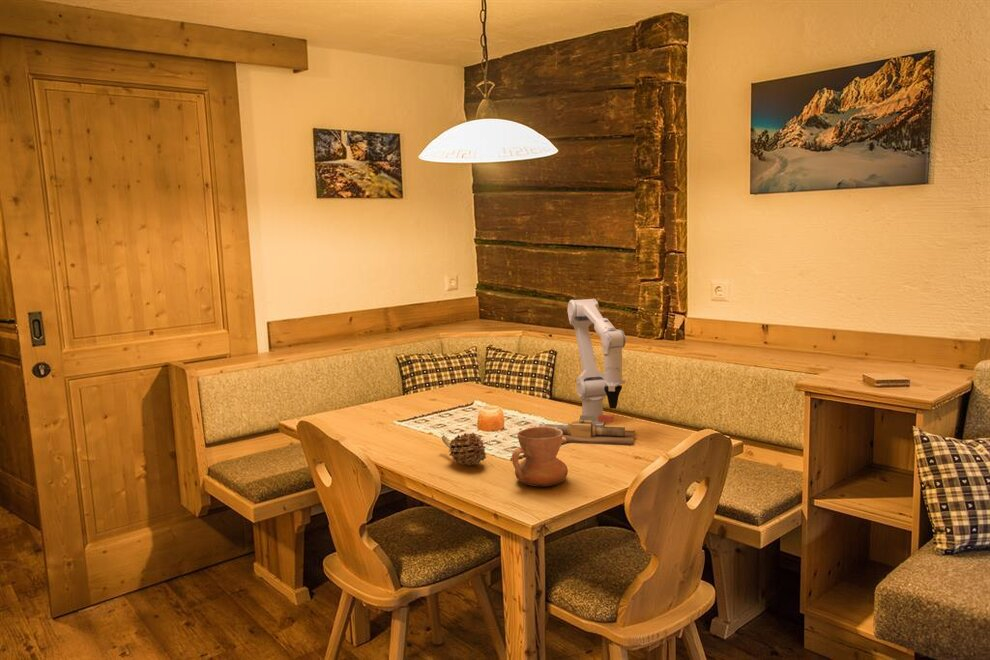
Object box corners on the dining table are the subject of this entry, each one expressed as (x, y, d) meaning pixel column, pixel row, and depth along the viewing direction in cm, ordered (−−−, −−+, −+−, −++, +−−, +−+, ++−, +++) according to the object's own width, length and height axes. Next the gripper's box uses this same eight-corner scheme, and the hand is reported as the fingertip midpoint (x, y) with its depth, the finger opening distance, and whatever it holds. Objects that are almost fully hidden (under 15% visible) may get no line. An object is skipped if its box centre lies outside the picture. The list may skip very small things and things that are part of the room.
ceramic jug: (550, 468, 214) (548, 420, 212) (582, 482, 202) (581, 431, 200) (498, 482, 205) (496, 432, 203) (528, 497, 193) (526, 445, 191)
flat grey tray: (534, 428, 255) (534, 415, 254) (634, 433, 247) (635, 419, 247) (527, 440, 241) (527, 426, 241) (633, 445, 234) (633, 430, 233)
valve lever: (579, 422, 243) (578, 415, 243) (579, 420, 245) (579, 414, 244) (613, 423, 240) (613, 416, 240) (614, 422, 242) (614, 415, 242)
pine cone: (496, 467, 216) (495, 434, 215) (470, 475, 210) (469, 441, 209) (451, 450, 233) (450, 419, 232) (426, 457, 227) (425, 425, 226)
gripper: (624, 372, 234) (624, 414, 236) (626, 363, 248) (626, 402, 250) (602, 371, 235) (601, 413, 237) (605, 362, 249) (605, 402, 251)
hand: (613, 407), depth 244 cm, fingers closed
